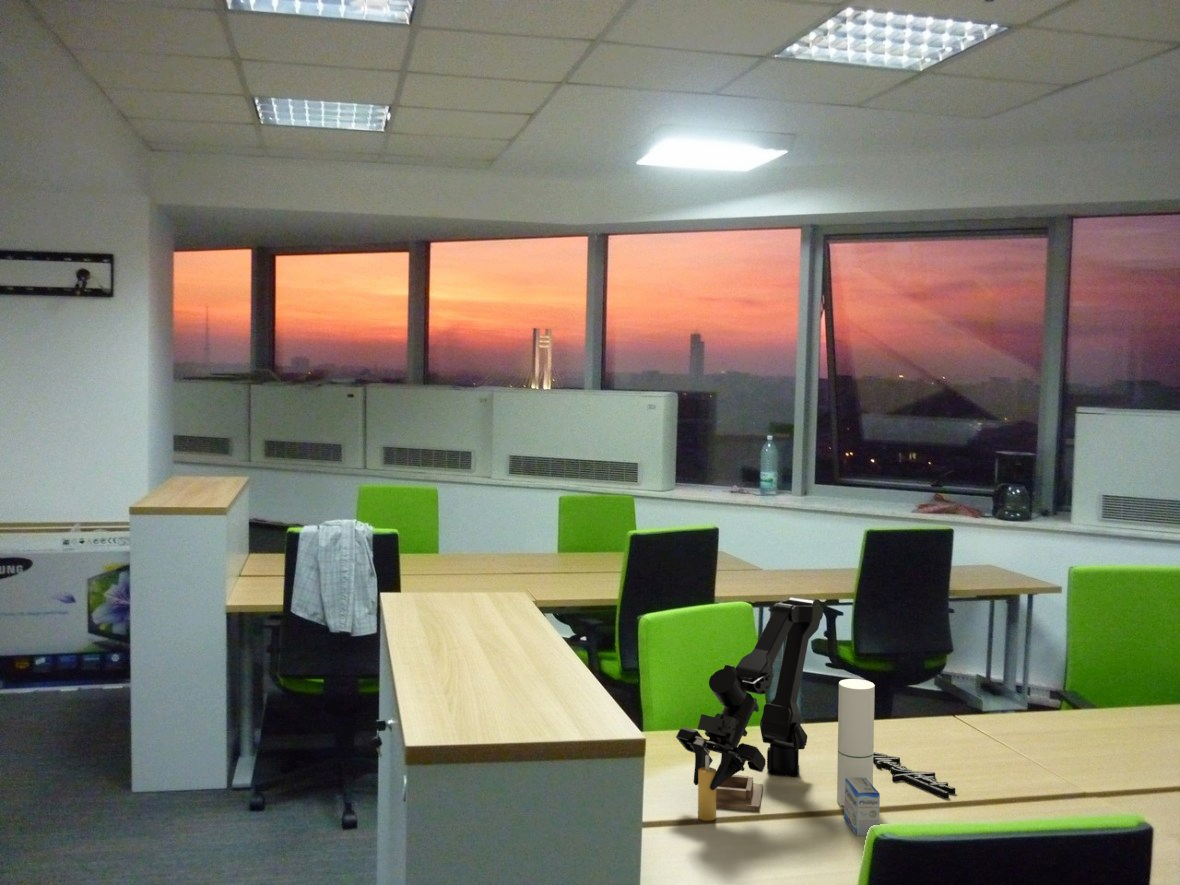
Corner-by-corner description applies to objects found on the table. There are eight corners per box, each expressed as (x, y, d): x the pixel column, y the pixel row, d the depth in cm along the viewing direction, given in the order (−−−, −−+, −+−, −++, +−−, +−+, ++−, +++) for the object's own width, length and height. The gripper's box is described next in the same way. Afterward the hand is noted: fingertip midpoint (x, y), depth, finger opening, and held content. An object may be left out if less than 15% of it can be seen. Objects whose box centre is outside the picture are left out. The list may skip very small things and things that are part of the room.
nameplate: (842, 755, 239) (873, 747, 244) (842, 761, 239) (873, 753, 244) (938, 796, 216) (970, 786, 221) (938, 803, 216) (970, 793, 221)
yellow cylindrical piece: (716, 814, 209) (717, 753, 209) (715, 821, 206) (715, 759, 205) (699, 812, 210) (699, 751, 209) (696, 819, 207) (697, 758, 206)
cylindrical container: (873, 798, 217) (875, 680, 216) (871, 811, 211) (873, 690, 209) (838, 793, 220) (840, 677, 218) (835, 806, 213) (837, 687, 211)
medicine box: (843, 819, 207) (844, 777, 206) (865, 818, 207) (866, 776, 207) (856, 837, 199) (857, 792, 199) (879, 836, 200) (880, 792, 199)
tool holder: (762, 788, 222) (763, 773, 222) (759, 811, 211) (759, 795, 210) (706, 783, 225) (707, 769, 225) (700, 805, 213) (700, 790, 213)
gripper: (681, 688, 216) (648, 755, 208) (758, 707, 203) (726, 779, 196) (703, 716, 222) (671, 782, 215) (779, 736, 210) (749, 806, 202)
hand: (703, 786), depth 207 cm, fingers closed on yellow cylindrical piece, 4 cm apart
